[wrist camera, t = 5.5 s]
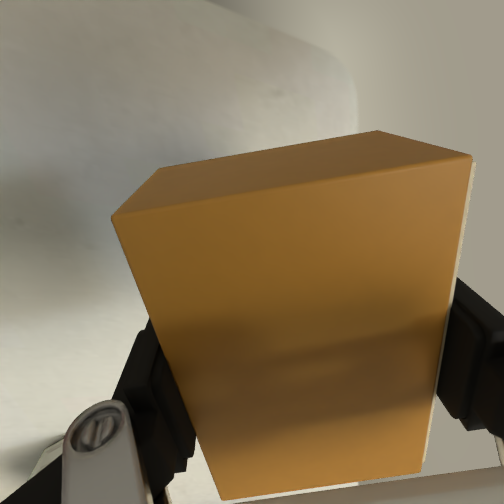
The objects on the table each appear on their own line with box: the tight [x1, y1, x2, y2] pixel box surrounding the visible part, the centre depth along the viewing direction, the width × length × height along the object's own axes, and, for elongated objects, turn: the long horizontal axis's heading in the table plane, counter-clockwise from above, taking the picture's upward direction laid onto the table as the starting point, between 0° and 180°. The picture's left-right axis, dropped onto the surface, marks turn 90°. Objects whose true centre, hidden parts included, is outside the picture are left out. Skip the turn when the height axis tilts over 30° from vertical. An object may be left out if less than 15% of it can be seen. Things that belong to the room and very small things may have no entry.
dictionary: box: [111, 130, 476, 501], centre depth 9 cm, size 10×7×4 cm
